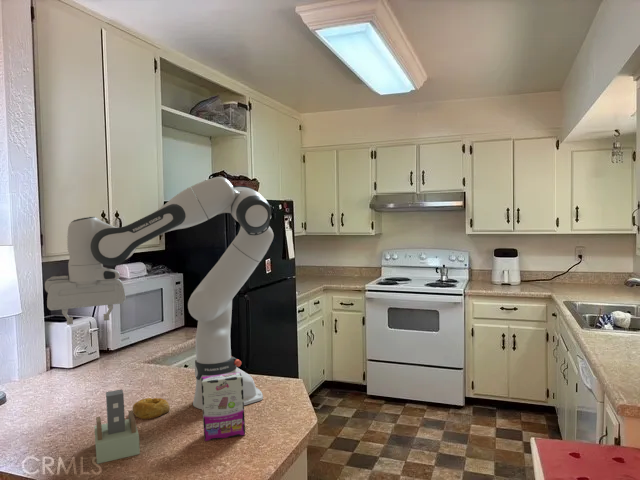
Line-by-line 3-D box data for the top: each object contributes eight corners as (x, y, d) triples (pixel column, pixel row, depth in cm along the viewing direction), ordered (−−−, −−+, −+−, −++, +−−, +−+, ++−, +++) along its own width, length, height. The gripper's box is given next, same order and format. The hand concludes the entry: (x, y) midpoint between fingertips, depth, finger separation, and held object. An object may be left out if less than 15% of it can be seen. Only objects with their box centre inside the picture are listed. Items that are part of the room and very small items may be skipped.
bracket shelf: (134, 435, 134) (133, 407, 134) (139, 454, 124) (138, 423, 123) (95, 444, 130) (93, 414, 129) (96, 463, 119) (95, 432, 119)
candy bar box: (243, 428, 137) (241, 371, 137) (245, 435, 133) (243, 376, 132) (202, 434, 134) (200, 375, 133) (203, 441, 129) (201, 381, 129)
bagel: (169, 417, 146) (168, 402, 146) (130, 422, 144) (129, 406, 144) (171, 405, 156) (170, 391, 156) (135, 410, 153) (134, 395, 153)
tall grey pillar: (124, 426, 129) (122, 389, 128) (125, 431, 126) (123, 393, 125) (107, 429, 127) (105, 392, 127) (108, 434, 124) (106, 396, 123)
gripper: (43, 278, 130) (46, 328, 131) (125, 272, 139) (127, 320, 140) (45, 275, 136) (47, 324, 136) (123, 270, 145) (125, 316, 145)
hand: (88, 322), depth 138 cm, fingers open, 8 cm apart
